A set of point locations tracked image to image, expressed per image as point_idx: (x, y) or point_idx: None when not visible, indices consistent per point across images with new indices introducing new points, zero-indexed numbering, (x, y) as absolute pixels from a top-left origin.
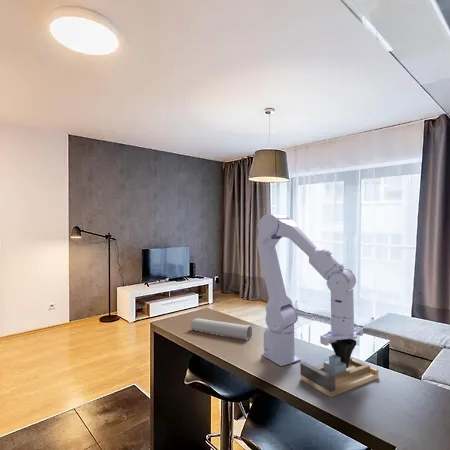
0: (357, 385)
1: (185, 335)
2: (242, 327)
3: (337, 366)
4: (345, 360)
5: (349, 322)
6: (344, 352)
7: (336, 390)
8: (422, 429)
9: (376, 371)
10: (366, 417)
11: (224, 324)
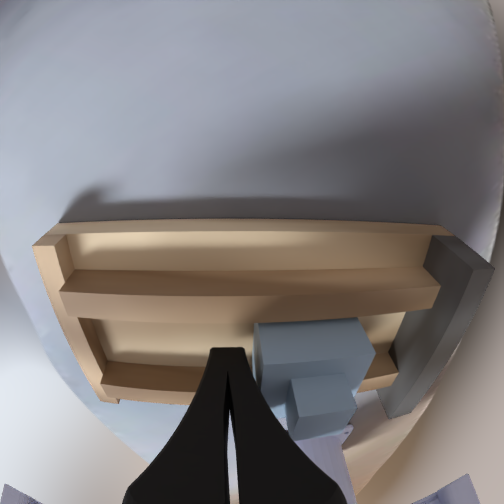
0: (249, 220)
1: (355, 489)
2: None
3: (350, 358)
4: (254, 388)
5: None
6: (297, 447)
7: (425, 233)
8: None
9: (49, 242)
10: (453, 48)
11: None
